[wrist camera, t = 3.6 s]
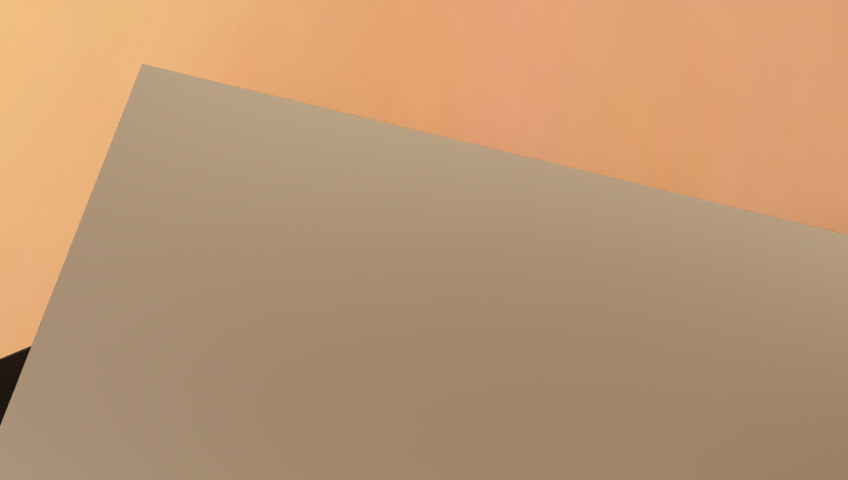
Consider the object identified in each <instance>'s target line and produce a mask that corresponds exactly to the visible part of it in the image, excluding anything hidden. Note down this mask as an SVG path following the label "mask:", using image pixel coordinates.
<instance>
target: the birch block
mask: <svg viewBox="0 0 848 480" xmlns="http://www.w3.org/2000/svg"><path fill="white" fill-rule="evenodd" d="M0 480H848V235H846V234H842V233H838V232H834V231H829V230H825V229H821V228H817V227H813V226H809V225H805V224H801V223H796V222H792V221H788V220H784V219H780V218H776V217H772V216H768V215H763V214H759V213H755V212H751V211H747V210H743V209H739V208H735V207H730V206H726V205H722V204H718V203H714V202H710V201H706V200H701V199H697V198H693V197H689V196H685V195H681V194H677V193H673V192H668V191H664V190H660V189H656V188H652V187H648V186H644V185H640V184H635V183H631V182H627V181H623V180H619V179H615V178H611V177H607V176H602V175H598V174H594V173H590V172H586V171H582V170H578V169H574V168H569V167H565V166H561V165H557V164H553V163H549V162H545V161H541V160H536V159H532V158H528V157H524V156H520V155H516V154H512V153H508V152H503V151H499V150H495V149H491V148H487V147H483V146H479V145H475V144H470V143H466V142H462V141H458V140H454V139H450V138H446V137H442V136H437V135H433V134H429V133H425V132H421V131H417V130H413V129H409V128H404V127H400V126H396V125H392V124H388V123H384V122H380V121H376V120H371V119H367V118H363V117H359V116H355V115H351V114H347V113H343V112H338V111H334V110H330V109H326V108H322V107H318V106H314V105H310V104H305V103H301V102H297V101H293V100H289V99H285V98H281V97H277V96H272V95H268V94H264V93H260V92H256V91H252V90H248V89H244V88H239V87H235V86H231V85H227V84H223V83H219V82H215V81H211V80H206V79H202V78H198V77H194V76H190V75H186V74H182V73H178V72H173V71H169V70H165V69H161V68H157V67H153V66H149V65H145V64H142V66H141V69H140V71H139V74H138V76H137V79H136V81H135V84H134V86H133V89H132V92H131V94H130V97H129V99H128V102H127V104H126V107H125V109H124V112H123V114H122V117H121V120H120V122H119V125H118V127H117V130H116V132H115V135H114V137H113V140H112V142H111V145H110V148H109V150H108V153H107V155H106V158H105V160H104V163H103V165H102V168H101V170H100V173H99V176H98V178H97V181H96V183H95V186H94V188H93V191H92V193H91V196H90V199H89V201H88V204H87V206H86V209H85V211H84V214H83V216H82V219H81V221H80V224H79V227H78V229H77V232H76V234H75V237H74V239H73V242H72V244H71V247H70V249H69V252H68V255H67V257H66V260H65V262H64V265H63V267H62V270H61V272H60V275H59V277H58V280H57V283H56V285H55V288H54V290H53V293H52V295H51V298H50V300H49V303H48V305H47V308H46V311H45V313H44V316H43V318H42V321H41V323H40V326H39V328H38V331H37V334H36V336H35V339H34V341H33V344H32V346H31V349H30V351H29V354H28V356H27V359H26V362H25V364H24V367H23V369H22V372H21V374H20V377H19V379H18V382H17V384H16V387H15V390H14V392H13V395H12V397H11V400H10V402H9V405H8V407H7V410H6V412H5V415H4V418H3V420H2V423H1V425H0Z"/></svg>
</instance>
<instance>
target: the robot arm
mask: <svg viewBox="0 0 848 480" xmlns="http://www.w3.org/2000/svg"><path fill="white" fill-rule="evenodd" d="M30 349H31V346H30V347H27V348H25V349H23V350H20V351H18V352H15V353H13V354H11V355H8V356H6V357H3V358H1V359H0V425H1V423H2V420H3V418H4V415H5V412H6V410H7V407H8V405H9V402H10V400H11V397H12V395H13V392H14V390H15V387H16V384H17V382H18V379H19V377H20V374H21V372H22V369H23V367H24V364H25V362H26V359H27V356H28V354H29V351H30Z"/></svg>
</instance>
